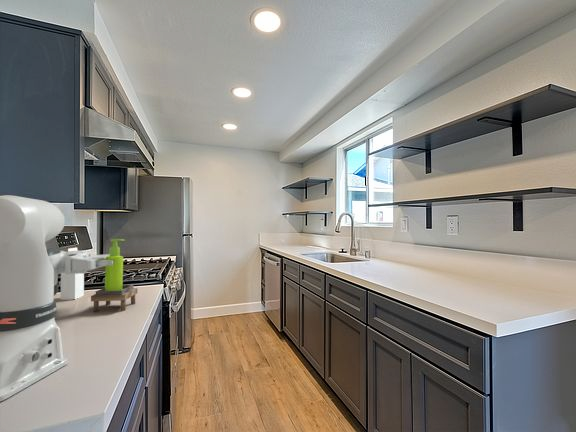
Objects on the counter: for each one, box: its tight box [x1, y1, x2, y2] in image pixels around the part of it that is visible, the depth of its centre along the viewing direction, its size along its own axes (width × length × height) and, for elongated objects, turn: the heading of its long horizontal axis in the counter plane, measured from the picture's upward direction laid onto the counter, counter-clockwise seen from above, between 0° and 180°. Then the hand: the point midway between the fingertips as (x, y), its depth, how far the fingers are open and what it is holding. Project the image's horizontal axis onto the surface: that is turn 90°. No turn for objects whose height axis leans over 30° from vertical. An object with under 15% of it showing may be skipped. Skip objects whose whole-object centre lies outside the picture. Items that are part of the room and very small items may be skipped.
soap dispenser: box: [104, 238, 126, 291], centre depth 113 cm, size 6×7×20 cm
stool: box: [90, 284, 138, 313], centre depth 113 cm, size 11×12×8 cm
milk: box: [60, 247, 85, 301], centre depth 128 cm, size 6×6×22 cm
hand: (117, 261), depth 114 cm, fingers closed on soap dispenser, 6 cm apart
